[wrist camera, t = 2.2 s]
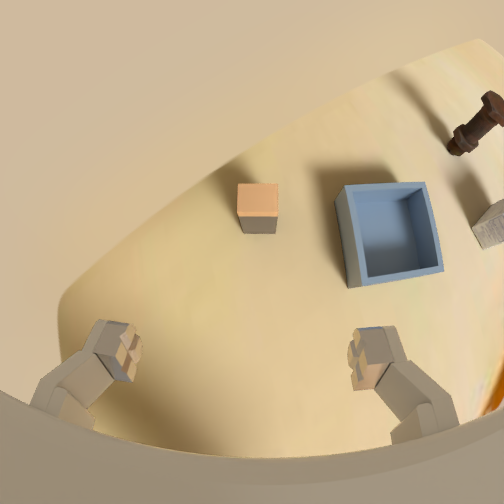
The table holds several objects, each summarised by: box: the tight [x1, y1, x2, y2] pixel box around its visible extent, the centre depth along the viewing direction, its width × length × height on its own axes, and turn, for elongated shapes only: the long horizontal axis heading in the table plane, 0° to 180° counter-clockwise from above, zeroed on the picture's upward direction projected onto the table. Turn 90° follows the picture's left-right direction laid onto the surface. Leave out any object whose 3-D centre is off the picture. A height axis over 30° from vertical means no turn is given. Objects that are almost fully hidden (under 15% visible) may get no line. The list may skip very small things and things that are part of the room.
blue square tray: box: [334, 182, 444, 288], centre depth 33 cm, size 12×12×6 cm
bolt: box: [448, 91, 504, 156], centre depth 30 cm, size 6×5×15 cm
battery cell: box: [237, 184, 278, 234], centre depth 32 cm, size 3×4×9 cm
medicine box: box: [472, 199, 504, 250], centre depth 31 cm, size 8×4×9 cm, turn 123°
